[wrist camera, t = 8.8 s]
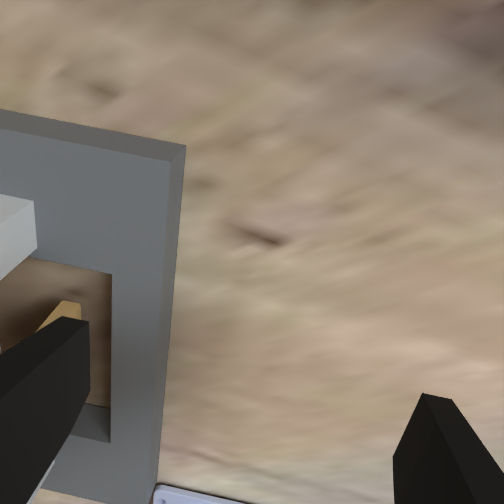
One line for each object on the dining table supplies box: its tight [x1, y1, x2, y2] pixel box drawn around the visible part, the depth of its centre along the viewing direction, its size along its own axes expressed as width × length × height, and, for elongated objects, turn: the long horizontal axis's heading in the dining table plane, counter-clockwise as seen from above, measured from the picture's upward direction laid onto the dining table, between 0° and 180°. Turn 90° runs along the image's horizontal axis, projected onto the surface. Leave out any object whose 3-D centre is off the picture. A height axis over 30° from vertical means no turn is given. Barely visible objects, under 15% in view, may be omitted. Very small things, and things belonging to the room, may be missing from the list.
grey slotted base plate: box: [0, 109, 186, 504], centre depth 21 cm, size 20×12×5 cm, turn 171°
